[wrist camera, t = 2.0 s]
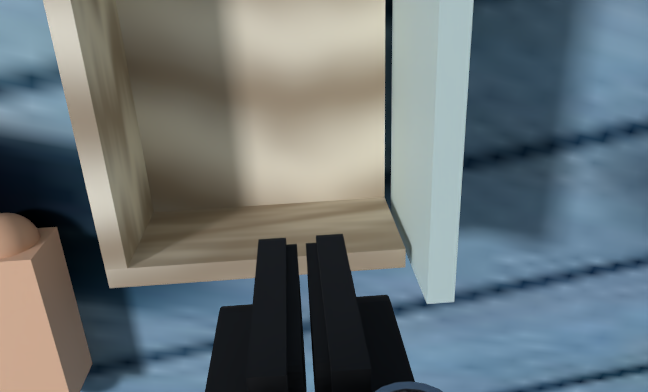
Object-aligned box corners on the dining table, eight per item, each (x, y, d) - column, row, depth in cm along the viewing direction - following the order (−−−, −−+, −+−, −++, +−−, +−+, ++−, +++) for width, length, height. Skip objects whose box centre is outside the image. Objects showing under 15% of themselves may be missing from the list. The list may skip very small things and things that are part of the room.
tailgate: (393, -104, 26) (444, -126, 18) (419, -105, 26) (481, -128, 18) (390, 214, 33) (427, 303, 25) (411, 212, 33) (454, 301, 25)
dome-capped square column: (-26, 204, 32) (-64, 236, 28) (50, 199, 32) (22, 230, 29) (33, 388, 37) (8, 433, 34) (98, 383, 38) (79, 427, 34)
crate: (84, -86, 26) (21, -95, 20) (382, -98, 27) (413, -111, 21) (142, 221, 33) (109, 288, 26) (381, 205, 34) (405, 267, 27)
